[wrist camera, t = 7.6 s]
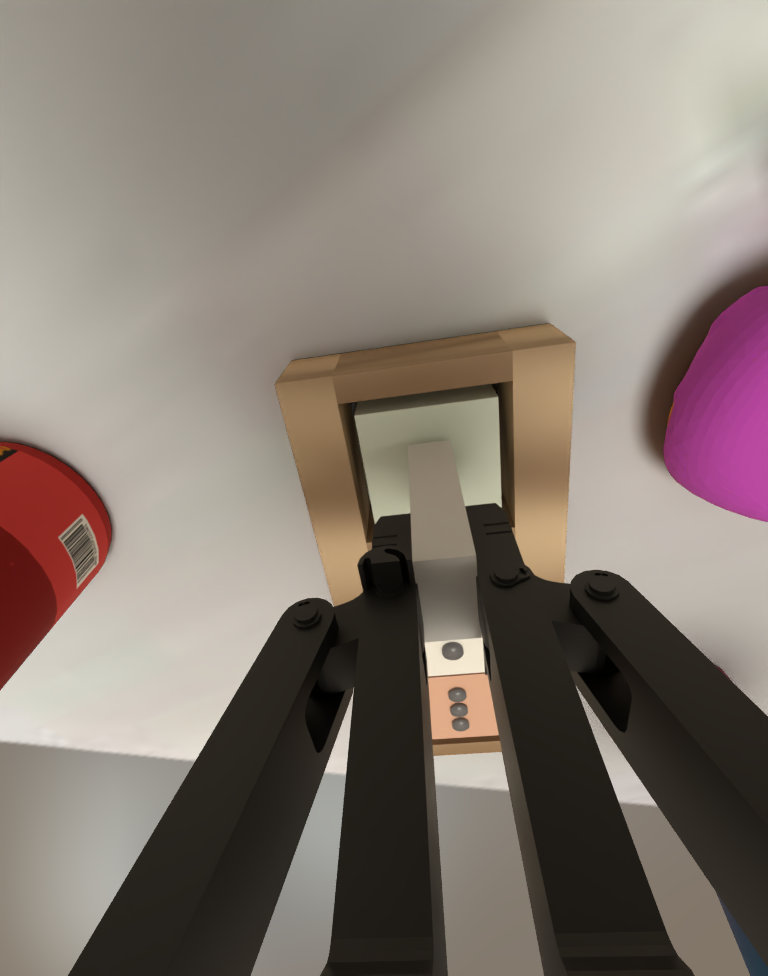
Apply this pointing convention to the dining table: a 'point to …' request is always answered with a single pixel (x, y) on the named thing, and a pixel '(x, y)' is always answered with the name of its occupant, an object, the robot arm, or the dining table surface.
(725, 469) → the donut
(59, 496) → the canned food
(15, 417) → the dining table surface
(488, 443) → the button
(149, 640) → the dining table surface
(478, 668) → the button
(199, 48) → the dining table surface
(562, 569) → the panel
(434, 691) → the button
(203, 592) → the dining table surface
